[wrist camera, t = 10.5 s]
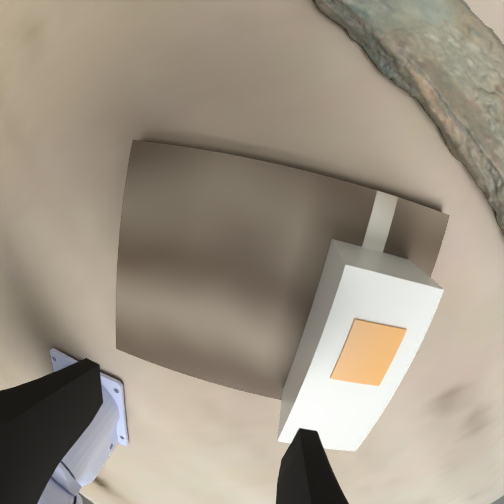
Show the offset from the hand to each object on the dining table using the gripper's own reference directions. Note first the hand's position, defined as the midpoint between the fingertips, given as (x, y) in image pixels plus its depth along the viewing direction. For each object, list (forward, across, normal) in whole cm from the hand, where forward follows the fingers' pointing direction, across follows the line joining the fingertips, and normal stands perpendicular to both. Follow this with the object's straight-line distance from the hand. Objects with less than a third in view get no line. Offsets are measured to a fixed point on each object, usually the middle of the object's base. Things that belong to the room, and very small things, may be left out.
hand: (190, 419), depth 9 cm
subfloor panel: (+9, -1, -2) cm, 10 cm away
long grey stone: (+10, -13, -16) cm, 23 cm away
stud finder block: (+8, -6, -1) cm, 10 cm away
